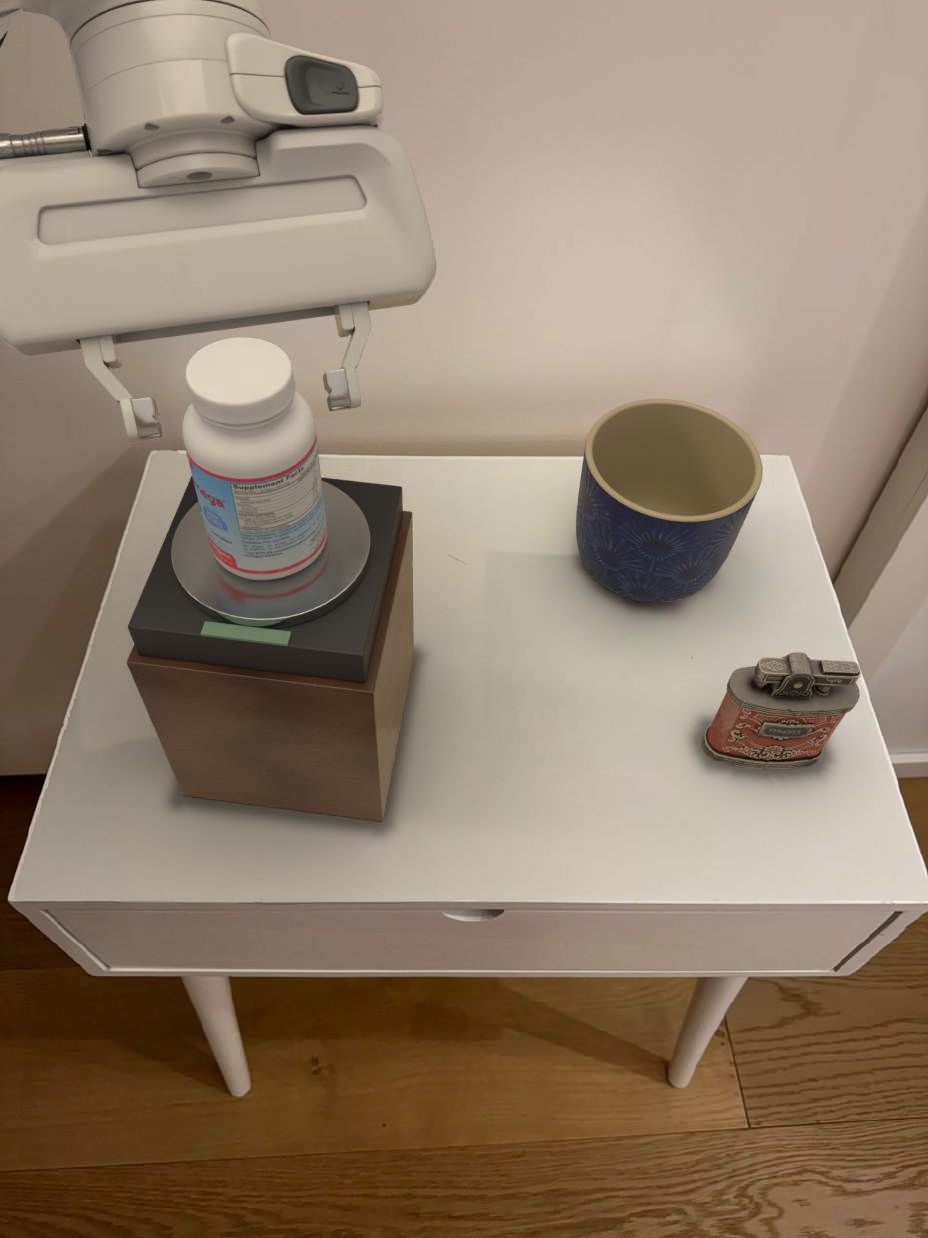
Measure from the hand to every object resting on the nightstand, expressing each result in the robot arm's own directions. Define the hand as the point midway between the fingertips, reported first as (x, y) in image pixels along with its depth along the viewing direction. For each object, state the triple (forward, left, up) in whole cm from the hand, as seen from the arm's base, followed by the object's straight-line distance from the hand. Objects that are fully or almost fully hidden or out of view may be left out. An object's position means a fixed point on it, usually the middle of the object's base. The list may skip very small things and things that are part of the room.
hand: (247, 423), depth 45 cm
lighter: (+32, +1, -26) cm, 41 cm away
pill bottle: (0, -1, -7) cm, 7 cm away
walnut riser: (+1, -1, -25) cm, 25 cm away
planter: (+24, +17, -26) cm, 39 cm away
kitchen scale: (+1, -1, -10) cm, 10 cm away
